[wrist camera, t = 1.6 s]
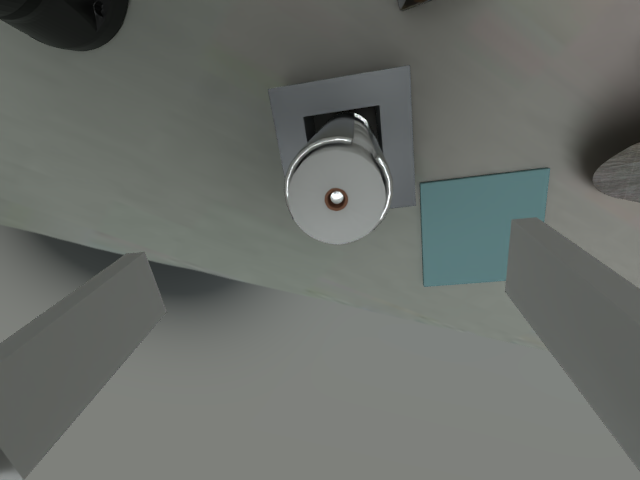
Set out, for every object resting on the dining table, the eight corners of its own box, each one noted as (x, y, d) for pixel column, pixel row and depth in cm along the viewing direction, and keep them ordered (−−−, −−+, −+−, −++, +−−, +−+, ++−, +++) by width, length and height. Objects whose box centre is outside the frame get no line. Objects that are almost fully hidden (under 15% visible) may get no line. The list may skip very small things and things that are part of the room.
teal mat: (419, 182, 43) (420, 184, 43) (547, 167, 41) (550, 168, 40) (423, 284, 49) (424, 286, 48) (535, 275, 47) (537, 278, 46)
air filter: (382, 149, 42) (415, 219, 19) (336, 175, 44) (316, 266, 21) (358, 100, 40) (361, 113, 17) (311, 129, 42) (258, 175, 19)
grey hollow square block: (283, 89, 40) (267, 89, 33) (399, 70, 38) (410, 65, 31) (302, 198, 45) (292, 219, 38) (405, 186, 44) (415, 205, 36)
